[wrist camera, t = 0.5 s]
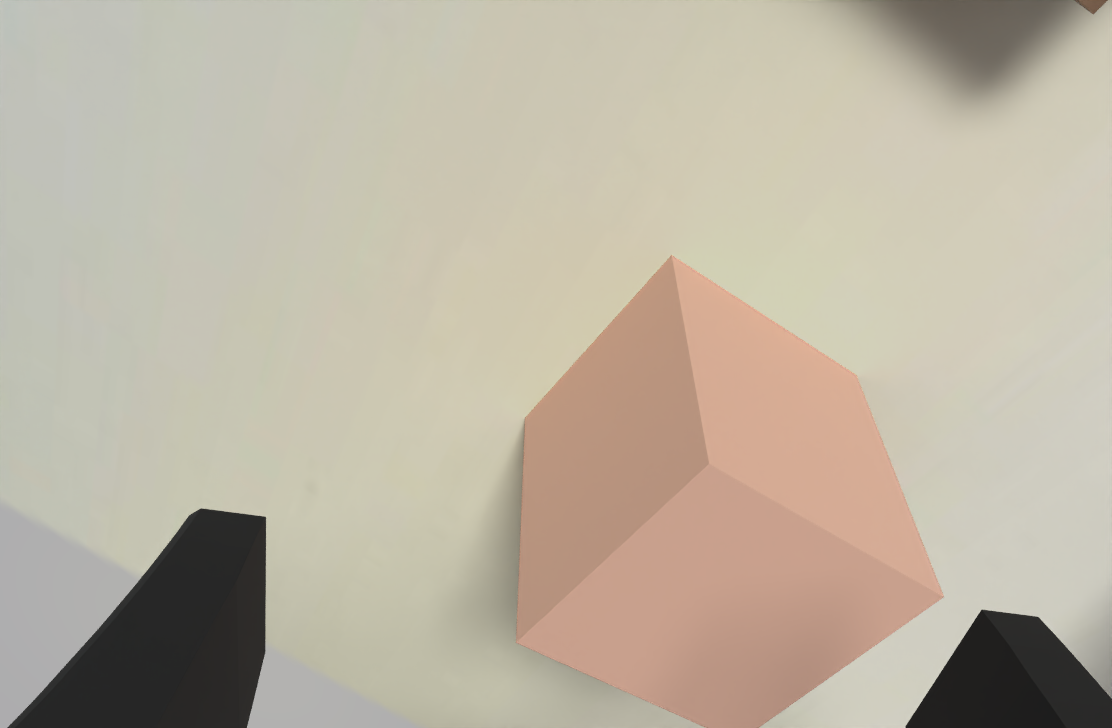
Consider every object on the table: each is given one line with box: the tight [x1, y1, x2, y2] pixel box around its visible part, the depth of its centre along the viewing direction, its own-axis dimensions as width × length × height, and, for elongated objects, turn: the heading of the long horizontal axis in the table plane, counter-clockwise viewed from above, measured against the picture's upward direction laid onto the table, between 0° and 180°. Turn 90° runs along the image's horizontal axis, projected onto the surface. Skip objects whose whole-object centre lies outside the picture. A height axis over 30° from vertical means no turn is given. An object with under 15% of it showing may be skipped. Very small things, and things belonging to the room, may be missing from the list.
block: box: [516, 255, 944, 728], centre depth 19 cm, size 5×5×6 cm
